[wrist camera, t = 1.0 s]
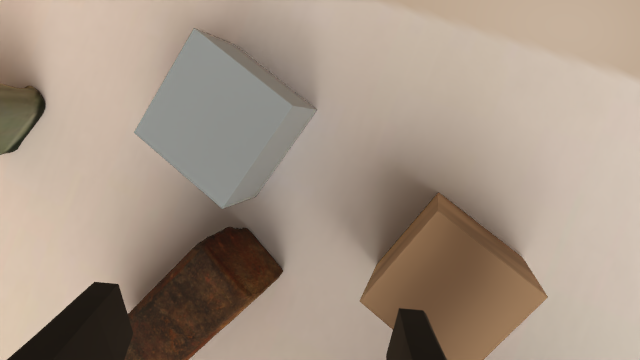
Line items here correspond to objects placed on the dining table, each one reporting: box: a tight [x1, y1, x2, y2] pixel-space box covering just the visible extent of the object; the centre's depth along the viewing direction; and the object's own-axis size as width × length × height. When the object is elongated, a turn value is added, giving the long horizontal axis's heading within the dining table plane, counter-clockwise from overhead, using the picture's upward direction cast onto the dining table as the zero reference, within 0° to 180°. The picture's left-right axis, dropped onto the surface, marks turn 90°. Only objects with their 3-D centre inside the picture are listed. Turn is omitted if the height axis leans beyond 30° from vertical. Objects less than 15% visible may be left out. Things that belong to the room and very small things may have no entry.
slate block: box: [134, 28, 317, 209], centre depth 22 cm, size 6×6×4 cm
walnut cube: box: [360, 192, 548, 360], centre depth 19 cm, size 5×5×5 cm
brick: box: [124, 227, 283, 360], centre depth 23 cm, size 11×4×5 cm, turn 134°
